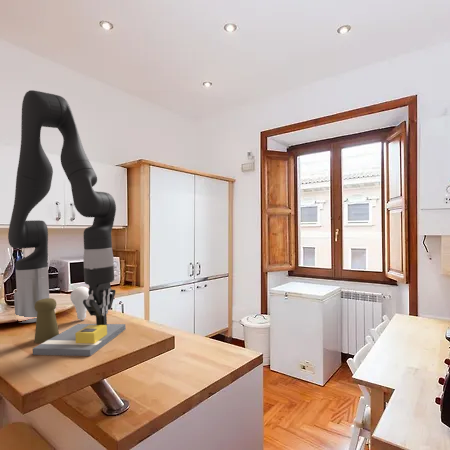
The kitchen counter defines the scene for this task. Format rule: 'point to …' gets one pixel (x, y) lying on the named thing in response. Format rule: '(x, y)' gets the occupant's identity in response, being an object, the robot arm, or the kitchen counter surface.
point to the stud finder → (91, 334)
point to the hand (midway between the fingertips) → (101, 328)
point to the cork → (45, 320)
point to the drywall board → (68, 345)
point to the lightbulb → (80, 301)
